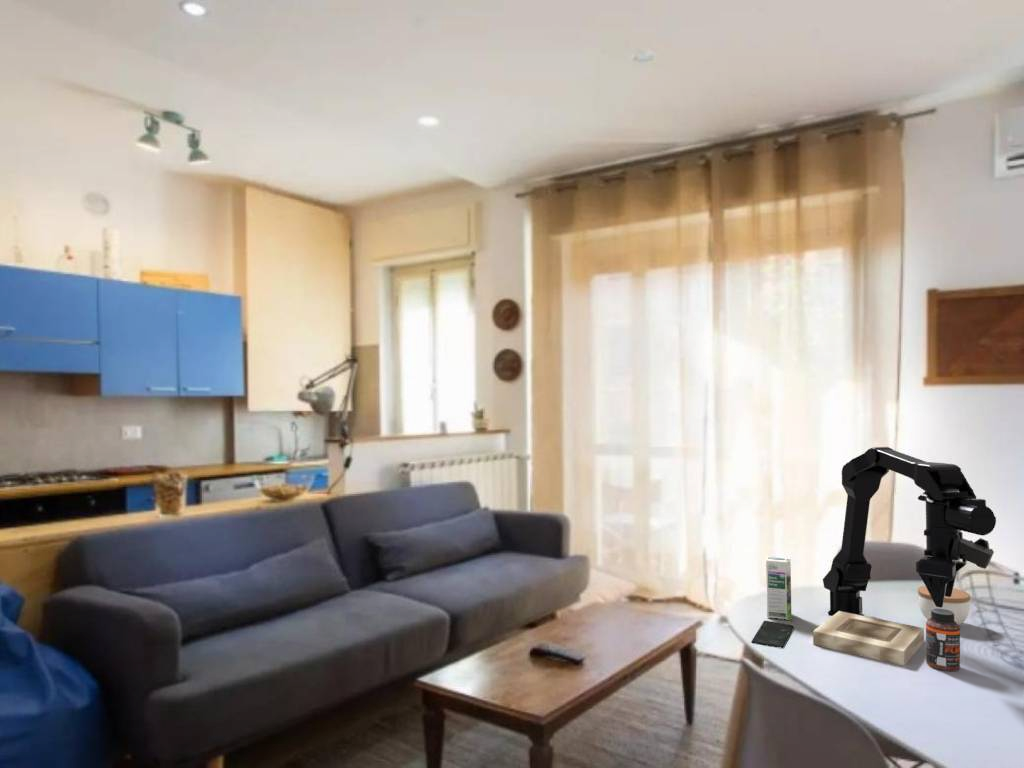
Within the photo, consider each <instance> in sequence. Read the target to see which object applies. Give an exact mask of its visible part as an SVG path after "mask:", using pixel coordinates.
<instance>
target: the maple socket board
mask: <svg viewBox="0 0 1024 768" xmlns="http://www.w3.org/2000/svg"><path fill="white" fill-rule="evenodd" d="M812 635H813V636H812V642H813V643H812V644H813V646H814V645H815V646H818V647H823V648H828V649H832V650H835V651H840V652H843V653H847V654H852V655H857V656H859V657H860V656H861V657H865V658H868V659H873V660H878V661H883V662H886V663H890V664H893V665H898V666H903V667H904V666H906V664H907V663H908V662H909V661H910V659H911V658H912V657H913V656H914V654H916V652H917V650H919V648H920V647H921V646H922V644H923V643H925V628H924V627H921V626H915V625H911V624H906V623H900V622H897V621H890V620H884V619H880V618H875V617H872V616H871V617H870V616H866V615H862V614H861V615H857V614H852V613H847V612H842V611H838V612H837V613H836V614H834V615H831V616H830V617H829V618H828V619H826V620H825V621H824V622H823V623H821V624H820V625H819V626H818V627H816V628H815V629H814V630H813V631H812Z"/></svg>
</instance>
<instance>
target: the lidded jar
mask: <svg viewBox="0 0 1024 768" xmlns="http://www.w3.org/2000/svg"><path fill="white" fill-rule="evenodd" d="M917 595H918V597H917V598H918V606H919V609H920V612H921V613H922V615H923V617H925V618H926V620H928V619H930V618H931V617H932V616H931V610H932V609H945V610H949V611H952V612H953V613H954V621H955V622H956V623H957V624H958V625H959V626H960V625H962V624H964V622H965V621H966V620H967V619H968V617H969V613H970V607H971V606H970V604H971V603H970V601H971V595H970V593H968V592H967V591H965V590H961V589H958V588H955V587H953V591H952V595H951V597H947V596H945V597H944V602H943V607H942V608H941V607H936V605H935V603H934V601H933V599H932V597H931V595H930V593H929V591H928V589H927V588H926V586H925V585H923V586H919V587H918V588H917Z"/></svg>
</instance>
